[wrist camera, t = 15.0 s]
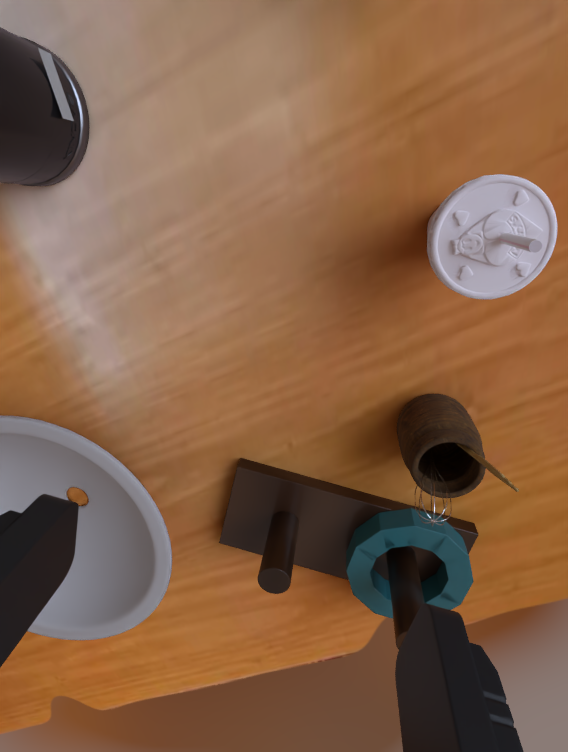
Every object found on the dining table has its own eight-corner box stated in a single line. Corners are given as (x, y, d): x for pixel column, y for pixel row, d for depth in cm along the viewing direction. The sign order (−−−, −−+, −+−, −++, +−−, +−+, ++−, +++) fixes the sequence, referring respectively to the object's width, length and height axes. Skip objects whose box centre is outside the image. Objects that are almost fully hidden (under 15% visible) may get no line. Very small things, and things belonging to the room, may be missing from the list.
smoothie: (503, 264, 33) (601, 307, 20) (412, 280, 35) (451, 331, 22) (498, 170, 31) (604, 151, 18) (402, 191, 33) (438, 188, 20)
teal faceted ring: (334, 581, 44) (333, 601, 42) (368, 495, 40) (369, 512, 38) (439, 612, 44) (444, 634, 42) (484, 528, 40) (492, 548, 38)
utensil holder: (380, 423, 39) (393, 512, 28) (438, 374, 37) (477, 450, 26) (427, 466, 40) (458, 569, 29) (487, 421, 38) (544, 514, 27)
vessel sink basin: (88, 617, 53) (54, 673, 47) (-78, 468, 48) (-140, 509, 42) (243, 523, 45) (227, 575, 39) (65, 334, 40) (15, 359, 34)
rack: (222, 532, 46) (189, 623, 36) (240, 457, 42) (209, 535, 33) (438, 594, 45) (463, 703, 35) (474, 523, 42) (513, 622, 32)
